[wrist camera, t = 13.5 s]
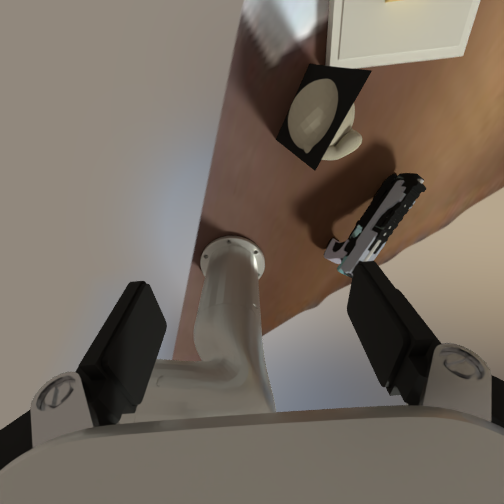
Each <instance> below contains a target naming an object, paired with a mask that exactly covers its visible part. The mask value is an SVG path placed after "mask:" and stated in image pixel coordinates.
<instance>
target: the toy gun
mask: <svg viewBox="0 0 504 504" xmlns="http://www.w3.org/2000/svg"><path fill="white" fill-rule="evenodd" d="M423 182H424V179H423V178H421V177H420V176H419V175H418V174H413V173H402V174H399V175H398V176H397V175H396V174H393V175H390V176H389V177H388V178H387V179H386V180H385V181H384V183H383V184H382V187H381V188H380V189H379V190H378V193H377V194H376V196H374V198H373V201H372V202H371V204H370V205H369V207H368V209H367V210H366V212H365V213H364V215H362V217H361V218H360V220H358V221H357V223H356V226H355V228H354V229H353V231H352V232H351V234H350V236H349V238H348V239H347V240H346V241H345V242H342V243H340V242H339V241H337V240H335V239H333V238H332V239H331V240H330V242H329V244H328V246H327V248H326V251H325V253H324V258H326V259H328V260H330V261H332V262H334V263H337V264H340V265H339V266H338V268H337V270H338V271H339V272H340V273H342V274H344V275H346V276H349V277H351V278H353V273H354V268H355V266H356V265H358V264H359V262H364V261H373V260H374V259H375V258H376V256H377V255H378V253H379V252H380V251H381V249H382V248H383V246H384V245H385V243H386V241H387V240H388V237H389V236H390V235H391V234H392V233H393V230H394V229H396V227H397V226H398V223H399V222H400V221H401V220H402V219H403V216H404V215H405V214H407V212H408V211H409V210H408V209H410V208H411V207H412V205H413V204H414V203H415V200H416V199H417V198H418V197H419V196H420V193H421V192H424V191H425V190H426V187H425V186H424V185H423V184H422V183H423Z"/></svg>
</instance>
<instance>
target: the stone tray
mask: <svg viewBox="0 0 504 504" xmlns="http://www.w3.org/2000/svg"><path fill="white" fill-rule="evenodd" d="M479 3H480V0H400V1H393V2H385V0H329V15H328V31H327V47H326V63H325V66H333V67H342V68H352V69H358V68H367V67H376V66H384V65H393V64H402V63H411V62H420V61H429V60H437V59H446V58H454V57H460V56H463V54H464V51H465V48H466V45H467V41H468V38H469V35H470V32H471V29H472V25H473V22H474V19H475V16H476V13H477V10H478V6H479Z"/></svg>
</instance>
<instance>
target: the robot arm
mask: <svg viewBox="0 0 504 504" xmlns="http://www.w3.org/2000/svg"><path fill="white" fill-rule="evenodd" d="M200 265H201V270H202V272H203V274H204V276H205V280H204V285H203V290H202V294H201V299H200V303H199V308H198V312H197V318H196V322H195V327H194V342H195V346H196V349H197V352H198V354H199V356H200V358H201V360H202V361H197V362H194V361H179V360H162V359H157V356H158V352H159V349H160V347H161V343H162V341H163V337H164V335H165V332H166V327H167V325H166V321H165V318H164V316H163V314H162V312H161V309H160V307H159V305H158V303H157V301H156V298H155V296H154V294H153V291H152V289H151V287H150V285H149V284H146V282H144V281H137V282H130V283H129V284H128V285H127V287H126V289H125V290H124V292H123V294H122V296H121V297H120V299H119V300H118V302H117V304H116V305H115V307H114V308H113V310H112V312H111V313H110V315H109V317H108V318H107V320H106V322H105V323H104V325H103V327H102V328H101V330H100V331H99V333H98V335H97V336H96V338H95V340H94V341H93V343H92V345H91V346H90V348H89V350H88V351H87V353H86V354H85V356H84V358H83V359H82V361H81V363H80V364H79V367H78V369H77V370H76V372H66V373H62V374H60V375H58V376H56V377H54V378H52V379H51V380H50V381H48V382H47V383H46V384H45V385H44V386H42V387H41V388H40V390H39V391H38V392H37V393H36V395H35V396H34V398H33V400H32V403H31V409H30V410H29V411H28V412H26V413H25V414H23V415H22V416H20V417H19V418H17V419H16V420H14V421H13V422H12V423H10V424H9V425H7V426H6V427H4V428H3V429H1V430H0V504H504V381H503V380H500V379H499V378H497V377H494V376H492V375H491V372H490V369H489V367H488V366H487V364H486V362H485V361H484V360H483V359H482V358H481V357H479V356H478V355H477V354H476V353H474V352H473V351H471V350H469V349H467V348H465V347H463V346H460V345H457V344H451V343H445V344H441V343H440V341H439V340H438V339H437V338H436V336H435V335H434V334H433V332H432V331H431V330H430V328H429V327H428V326H427V325H426V323H425V322H424V321H423V319H422V318H421V317H420V316H419V315H418V313H417V312H416V311H415V309H414V308H413V307H412V305H411V304H410V303H409V302H408V300H407V299H406V298H405V297H404V295H403V294H402V293H401V292H400V291H399V290H398V289H396V288H395V287H394V286H393V284H392V283H391V282H390V280H388V278H387V277H386V276H385V274H384V273H383V271H382V270H381V269H380V267H379V266H378V265H377V263H376V262H375V261H364V262H359V264H358V265H356V266H355V268H354V273H353V278H352V283H351V289H350V294H349V299H348V305H347V312H348V315H349V317H350V320H351V322H352V324H353V326H354V328H355V330H356V333H357V335H358V337H359V339H360V341H361V343H362V346H363V348H364V350H365V352H366V354H367V357H368V359H369V361H370V363H371V365H372V367H373V369H374V372H375V374H376V376H377V378H378V380H379V382H380V384H381V386H382V387H386V388H387V391H388V393H389V395H390V396H391V395H401V396H402V398H403V400H404V402H406V405H404V406H403V405H399V406H377V407H355V408H338V409H322V410H306V411H291V412H276V408H275V402H274V397H273V393H272V389H271V386H270V381H269V377H268V373H267V369H266V364H265V358H264V351H263V343H262V331H261V316H260V301H259V286H258V280H259V278H260V277H261V276H262V274H263V272H264V268H265V260H264V256H263V253H262V251H261V249H260V248H259V247H258V246H257V245H256V244H255V243H254V242H252V241H251V240H248V239H246V238H243V237H240V236H225V237H220V238H218V239H215V240H214V241H212V242H211V243H209V244H208V245H207V246H206V248H205V249H204V251H203V253H202V256H201V261H200Z"/></svg>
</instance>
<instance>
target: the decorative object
mask: <svg viewBox="0 0 504 504" xmlns="http://www.w3.org/2000/svg"><path fill="white" fill-rule="evenodd" d="M370 73H371V71H370V70H361V69H352V68H342V67H333V66H324V65H315V64H309V66H308V69H307V71H306V73H305V75H304V78H303V80H302V82H301V84H300V87H299V89H298V91H297V93H296V96H295V98H294V100H293V102H292V105H291V107H290V109H289V111H288V114H287V116H286V118H285V120H284V123H283V125H282V127H281V129H280V131H279V134H278V136H277V138H276V140H277V141H278V142H280V143H281V144H282V145H283V146H285V147H286V148H287V149H288V150H290V151H291V152H292V153H293V154H295V155H296V156H297V157H298V158H300V159H301V160H302V161H303V162H305V163H306V164H307V165H308V166H310V167H311V168H312V169H314V170H316V168H317V167H318V165H319V163H320V161H321V160H337V159H340V158H342V157H344V156H346V155H348V154H350V153H351V152H353V151H355V150H356V149H357V148H358V147H359V146H360V144H361V142H362V137H361V135H360V134H359V133H358V132H357V131H355V130H352V128H351V127H352V124H353V121H354V114H355V107H354V101H355V99H356V98H357V96H358V94H359V92H360V91H361V89H362V87H363V85H364V84H365V82H366V80H367V78H368V77H369V75H370Z"/></svg>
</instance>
